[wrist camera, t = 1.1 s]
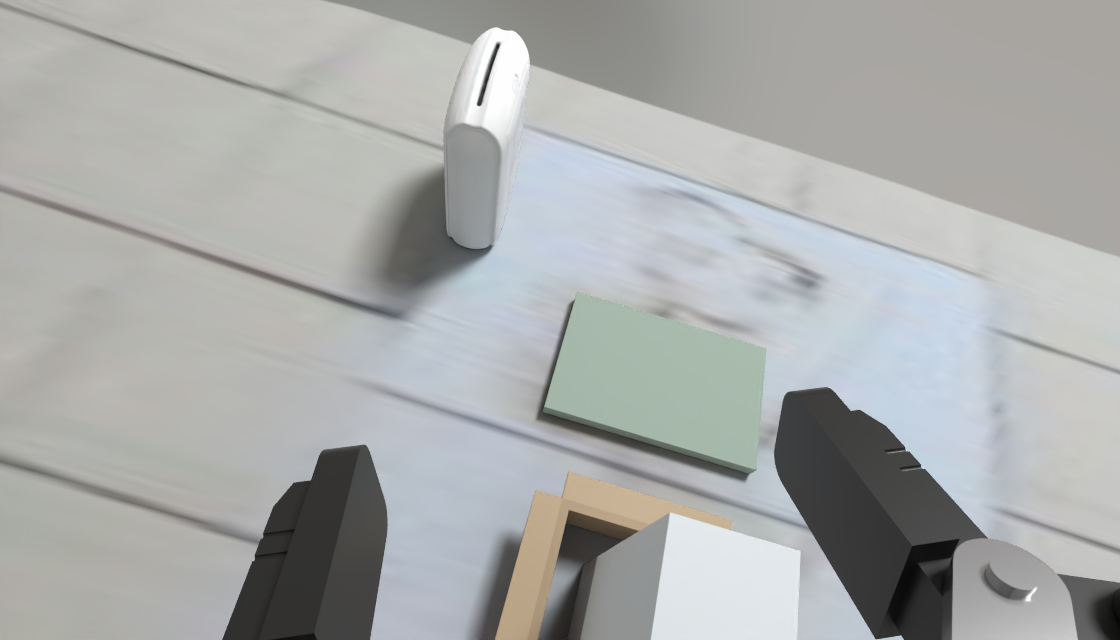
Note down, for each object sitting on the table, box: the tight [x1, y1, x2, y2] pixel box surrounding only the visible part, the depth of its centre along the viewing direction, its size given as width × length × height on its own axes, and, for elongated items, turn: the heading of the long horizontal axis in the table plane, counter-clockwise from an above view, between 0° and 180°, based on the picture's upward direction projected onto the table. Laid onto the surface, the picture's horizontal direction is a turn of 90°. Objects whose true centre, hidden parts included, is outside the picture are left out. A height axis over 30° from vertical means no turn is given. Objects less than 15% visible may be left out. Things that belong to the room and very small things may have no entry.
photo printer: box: [444, 28, 530, 249], centre depth 40 cm, size 10×4×12 cm, turn 171°
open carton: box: [495, 472, 732, 640], centre depth 31 cm, size 12×12×4 cm
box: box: [567, 512, 800, 640], centre depth 25 cm, size 5×5×16 cm
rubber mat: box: [543, 292, 766, 474], centre depth 39 cm, size 14×9×1 cm, turn 75°
